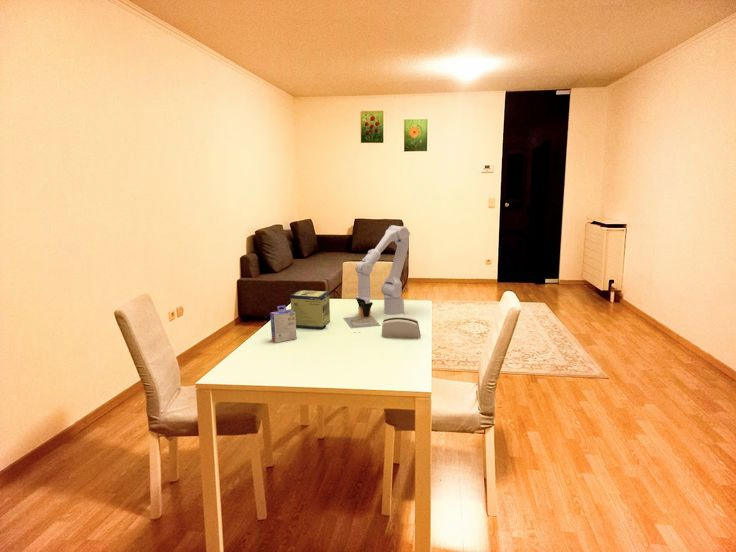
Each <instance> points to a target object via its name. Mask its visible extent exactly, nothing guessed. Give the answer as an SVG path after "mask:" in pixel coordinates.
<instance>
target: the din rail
mask: <svg viewBox="0 0 736 552" xmlns="http://www.w3.org/2000/svg"><path fill="white" fill-rule="evenodd" d="M373 318H374V317H373V316H372V317H371V318H359V319H350V323H351V325H352V326H353V327H360V326H371V325H377V322H378V321H377V320H376V321H374V319H375V318H374V319H373Z"/></svg>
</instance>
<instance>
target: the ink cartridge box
mask: <svg viewBox="0 0 736 552" xmlns="http://www.w3.org/2000/svg"><path fill="white" fill-rule="evenodd" d="M276 307H277V311H273V312H269V317H270V319H269V320H270V328H271V329H270V330H271V341H273V342H274V343H281V342H287V341H291V340H296V339H297V337H298V335H297V328H296V317H295V311H293V310H292V309H291V308H289V309H287V307H286V305H285V304H284V305H277V306H276ZM280 308H281V309H280Z"/></svg>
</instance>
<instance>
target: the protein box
mask: <svg viewBox="0 0 736 552" xmlns="http://www.w3.org/2000/svg"><path fill="white" fill-rule="evenodd" d="M330 301H331V300H330V291H320V290H319V291H318V290H302V289H301V290H298V291H296V292H294V293H292V294H290V309H292V310H293V311H295V317H296V329H307V330H319V331H322V330H324V329H325V328H326V327H327V325H328V324H329V323H330V322H331V310H330V307H331V306H330Z"/></svg>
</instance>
